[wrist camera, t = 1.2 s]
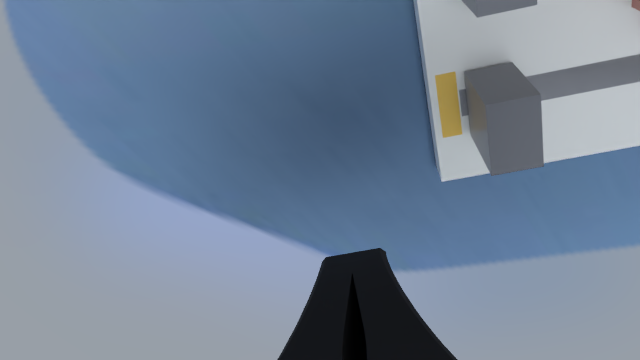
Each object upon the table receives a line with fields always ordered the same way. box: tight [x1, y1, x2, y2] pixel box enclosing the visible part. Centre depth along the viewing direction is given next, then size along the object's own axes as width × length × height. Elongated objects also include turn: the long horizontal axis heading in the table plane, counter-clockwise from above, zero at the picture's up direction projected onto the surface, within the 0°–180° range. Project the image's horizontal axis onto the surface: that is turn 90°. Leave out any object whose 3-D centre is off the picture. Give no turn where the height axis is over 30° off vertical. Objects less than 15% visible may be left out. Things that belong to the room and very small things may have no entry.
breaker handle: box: [464, 62, 544, 176], centre depth 19 cm, size 2×2×3 cm
